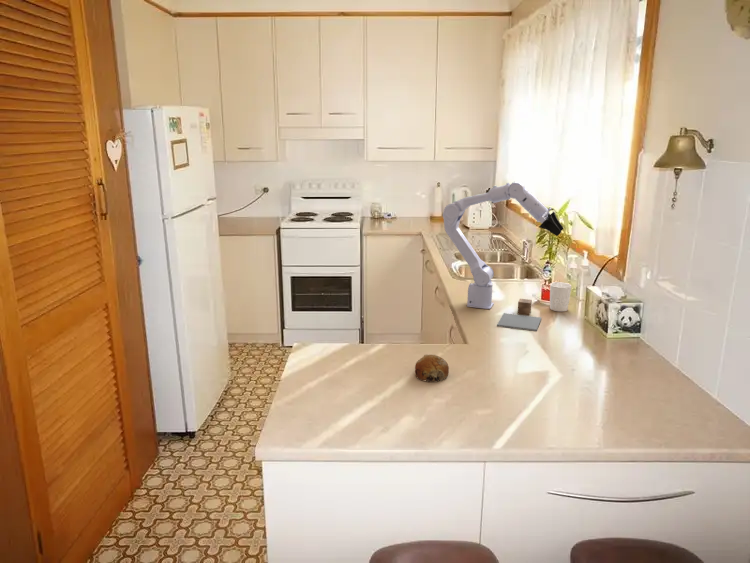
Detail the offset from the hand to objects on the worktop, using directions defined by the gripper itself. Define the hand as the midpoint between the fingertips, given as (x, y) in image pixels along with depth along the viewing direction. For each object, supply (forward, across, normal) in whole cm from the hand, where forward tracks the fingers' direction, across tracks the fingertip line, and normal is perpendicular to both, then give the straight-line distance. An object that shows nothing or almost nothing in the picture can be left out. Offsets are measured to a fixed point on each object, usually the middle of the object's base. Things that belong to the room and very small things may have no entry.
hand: (560, 232), depth 210 cm
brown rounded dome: (+1, -72, +41) cm, 83 cm away
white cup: (+22, +7, +23) cm, 33 cm away
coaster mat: (+13, -16, +31) cm, 37 cm away
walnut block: (+13, -4, +31) cm, 34 cm away
